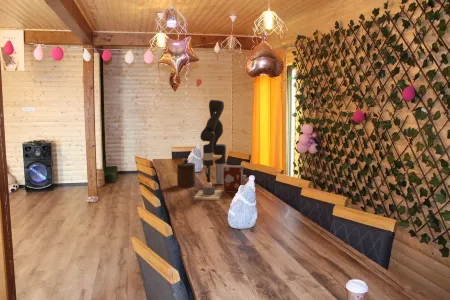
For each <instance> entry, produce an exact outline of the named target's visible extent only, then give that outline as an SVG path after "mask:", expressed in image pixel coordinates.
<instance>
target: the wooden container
mask: <svg viewBox="0 0 450 300" xmlns="http://www.w3.org/2000/svg"><path fill="white" fill-rule="evenodd" d="M176 167H177V168H176V169H177V171H176V178H177V180H176V181H177V183H176V184H177V186H178V187H179V188H192V187H195V186H196V164H195V163H194V162H189V159H188V158H185V159H183V162H179V163H177V166H176Z"/></svg>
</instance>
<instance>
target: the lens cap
mask: <svg viewBox="0 0 450 300" xmlns="http://www.w3.org/2000/svg"><path fill="white" fill-rule="evenodd" d="M205 186H206V188H212V186H213V183H212V182H211V181H210V183H207V182H205Z"/></svg>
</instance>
